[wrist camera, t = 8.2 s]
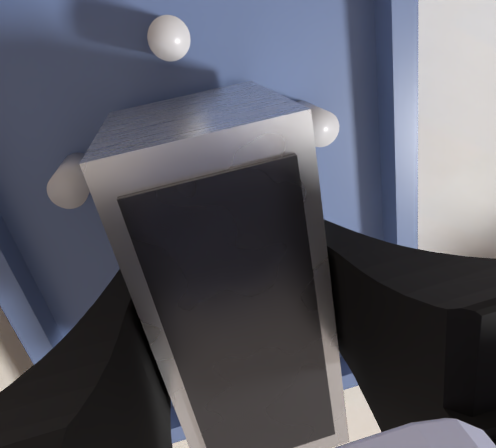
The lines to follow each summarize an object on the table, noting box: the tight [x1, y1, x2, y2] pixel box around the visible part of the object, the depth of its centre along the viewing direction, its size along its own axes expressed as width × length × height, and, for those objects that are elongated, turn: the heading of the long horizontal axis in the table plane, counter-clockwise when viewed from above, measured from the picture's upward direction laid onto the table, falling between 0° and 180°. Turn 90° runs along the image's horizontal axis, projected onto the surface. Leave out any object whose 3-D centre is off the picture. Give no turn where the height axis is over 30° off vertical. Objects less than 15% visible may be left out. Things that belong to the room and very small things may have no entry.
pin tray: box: [0, 0, 418, 443], centre depth 14 cm, size 14×17×3 cm
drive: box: [79, 81, 349, 448], centre depth 11 cm, size 4×9×5 cm, turn 11°
